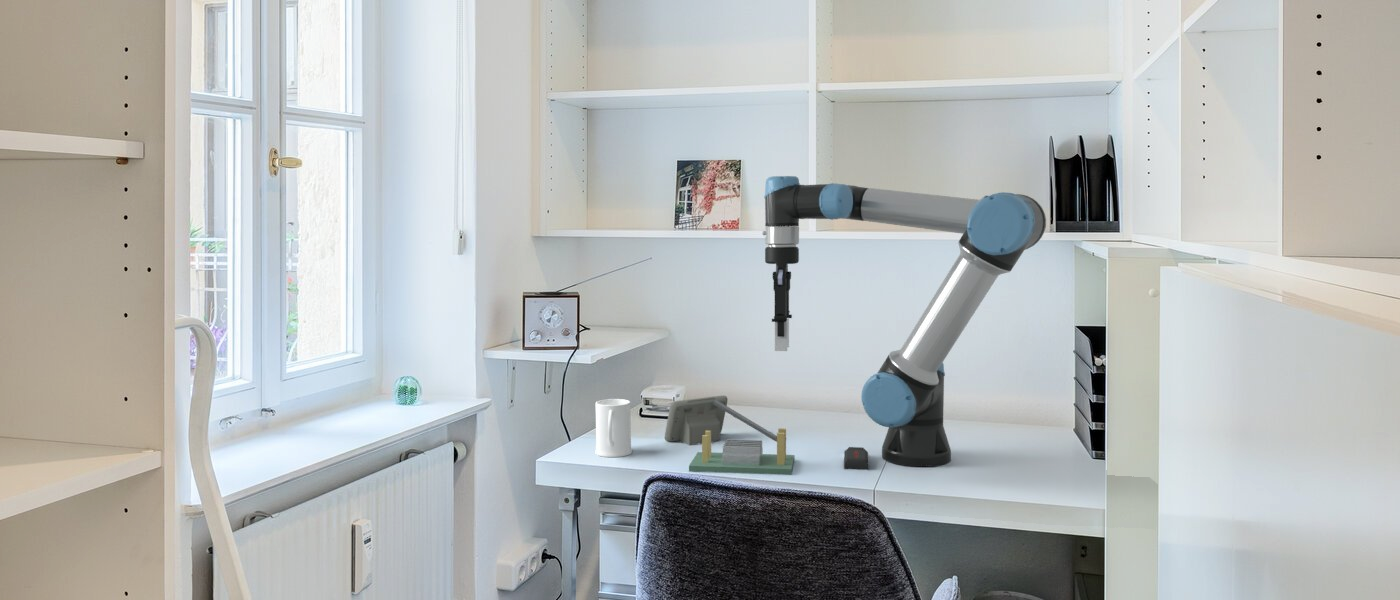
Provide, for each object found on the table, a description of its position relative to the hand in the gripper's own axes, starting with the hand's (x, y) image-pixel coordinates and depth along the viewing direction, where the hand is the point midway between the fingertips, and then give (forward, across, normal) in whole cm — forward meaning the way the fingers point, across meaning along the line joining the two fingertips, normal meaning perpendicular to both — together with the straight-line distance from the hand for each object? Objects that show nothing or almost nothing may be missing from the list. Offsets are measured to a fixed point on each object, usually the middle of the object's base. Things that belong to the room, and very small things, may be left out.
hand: (782, 348), depth 213 cm
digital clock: (+25, -14, -22) cm, 36 cm away
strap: (+15, +9, -7) cm, 19 cm away
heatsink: (+24, +9, -8) cm, 26 cm away
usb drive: (+25, +3, +17) cm, 30 cm away
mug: (+25, +3, -39) cm, 46 cm away
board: (+25, +9, -8) cm, 28 cm away
